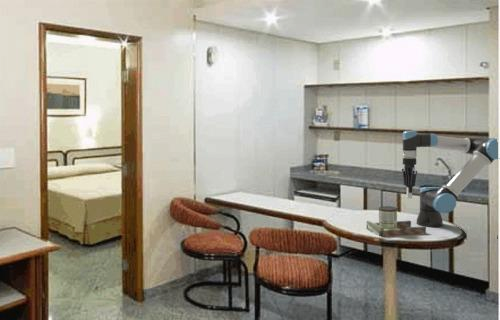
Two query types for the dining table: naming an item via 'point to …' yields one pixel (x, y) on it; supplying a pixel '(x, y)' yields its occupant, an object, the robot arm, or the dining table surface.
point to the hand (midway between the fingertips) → (409, 198)
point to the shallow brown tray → (395, 229)
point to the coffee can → (388, 217)
